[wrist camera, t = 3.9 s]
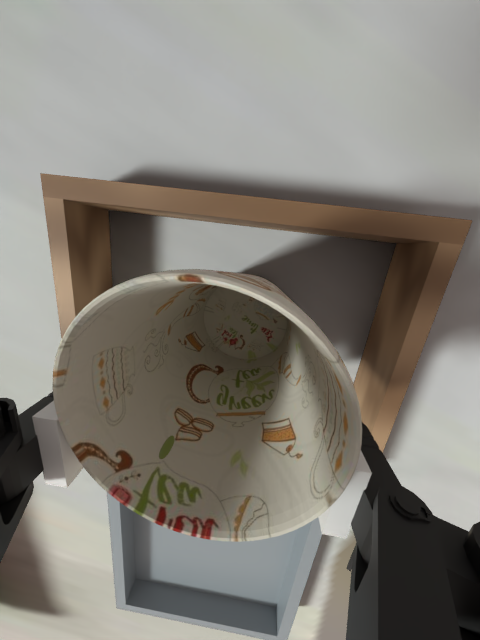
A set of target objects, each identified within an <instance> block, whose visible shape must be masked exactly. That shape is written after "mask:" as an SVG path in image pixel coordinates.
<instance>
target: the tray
mask: <svg viewBox="0 0 480 640" xmlns="http://www.w3.org/2000/svg"><path fill="white" fill-rule="evenodd" d="M107 499H108V512H109V524H110V536H111V548H112V560H113V572H114V584H115V597H116V608H118V609H122V610H127V611H132V612H137V613H141V614H146V615H151V616H156V617H160V618H165V619H170V620H174V621H179V622H184V623H189V624H193V625H198V626H203V627H208V628H212V629H217V630H222V631H227V632H231V633H236V634H241V635H246V636H250V637H255V638H260V639H264V640H287V639H288V636H289V633H290V630H291V627H292V624H293V621H294V618H295V615H296V612H297V609H298V606H299V603H300V600H301V597H302V594H303V591H304V588H305V585H306V582H307V579H308V576H309V573H310V570H311V567H312V564H313V561H314V558H315V555H316V552H317V549H318V546H319V543H320V540H321V537H322V532H321V527H320V523H319V518H316V519H314V520H313V521H311V522H309V523H308V524H306V525H305V526H302V527H300V528H298V529H296V530H294V531H291V532H288V533H286V534H283V535H280V536H276V537H272V538H267V539H262V540H255V541H242V542H233V541H217V540H208V539H203V538H198V537H193V536H189V535H186V534H182V533H179V532H176V531H173V530H170V529H167V528H165V527H163V526H160V525H158V524H156V523H154V522H151V521H150V520H148V519H146V518H144V517H142V516H140V515H138V514H137V513H135V512H134V511H132V510H130V509H129V508H127V507H126V506H124V505H123V504H122V503H120V502H119V501H117V500H116V499H115V498H114V497H113V496H111V495H110V494H109V493H108V492H107Z"/></svg>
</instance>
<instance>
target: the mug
mask: <svg viewBox="0 0 480 640" xmlns="http://www.w3.org/2000/svg"><path fill="white" fill-rule="evenodd" d="M53 396H54V404H55V409H56V413H57V417H58V420H59V423H60V426H61V428H62V431H63V433H64V436H65V438H66V440H67V442H68V444H69V446H70V448H71V449H72V451H73V452H74V454H75V455H76V457H77V459H78V460H79V462H80V463H81V464H82V465H83V467H84V468H85V469H86V471H87V472H88V473H89V474H90V475H91V476H92V478H93V479H94V480H95V481H96V482H97V483H98V484H99V485H100V486H101V487H102V488H103V489H104V490H106V491H107V492H108V493H109V494H110V495H111V496H113V497H114V498H115V499H116V500H117V501H119V502H120V503H122V504H123V505H124V506H126V507H127V508H129V509H130V510H132V511H134V512H135V513H137V514H138V515H140V516H142V517H144V518H146V519H148V520H150V521H151V522H154V523H156V524H158V525H160V526H163V527H165V528H167V529H170V530H173V531H176V532H179V533H182V534H186V535H189V536H193V537H198V538H203V539H208V540H217V541H233V542H242V541H255V540H262V539H267V538H272V537H276V536H280V535H283V534H286V533H288V532H291V531H294V530H296V529H298V528H300V527H302V526H305V525H306V524H308V523H309V522H311V521H313V520H314V519H316V518H318V517H319V516H320V515H321V514H322V513H324V512H325V511H326V510H327V509H328V508H329V507H330V506H332V505H333V504H334V503H335V501H336V500H337V499H338V498H339V497H340V495H341V494H342V493H343V492H344V490H345V488H346V487H347V485H348V484H349V482H350V480H351V478H352V476H353V474H354V472H355V469H356V466H357V463H358V460H359V456H360V450H361V445H362V421H361V412H360V406H359V401H358V397H357V394H356V390H355V387H354V384H353V382H352V380H351V377H350V375H349V372H348V370H347V368H346V366H345V365H344V363H343V361H342V359H341V357H340V356H339V354H338V352H337V351H336V349H335V348H334V346H333V345H332V343H331V342H330V341H329V339H328V338H327V337H326V335H325V334H324V333H323V332H322V331H321V329H320V328H319V327H318V326H317V325H316V324H315V322H314V321H313V320H312V319H311V318H310V317H309V316H308V315H307V314H306V313H304V312H303V311H302V310H301V309H300V308H299V307H298V306H297V305H296V304H295V303H294V302H293V301H292V300H291V299H290V298H289V297H288V296H286V295H285V294H284V293H283V292H282V291H281V290H280V289H279V288H278V287H277V286H276V285H274V284H273V283H272V282H270V281H268V280H266V279H264V278H262V277H259V276H256V275H251V274H243V273H233V272H223V271H213V270H200V269H188V270H169V271H163V272H157V273H151V274H147V275H143V276H140V277H137V278H133V279H130V280H128V281H125V282H123V283H121V284H118V285H116V286H114V287H113V288H111V289H109V290H107V291H106V292H104V293H102V294H101V295H99V296H98V297H96V298H95V299H94V300H93V301H91V302H90V303H89V304H88V305H87V306H85V307H84V308H83V309H82V310H81V312H80V313H79V314H78V315H77V316H76V317H75V318H74V320H73V321H72V322H71V324H70V325H69V327H68V328H67V330H66V332H65V334H64V336H63V338H62V340H61V342H60V345H59V348H58V351H57V354H56V358H55V363H54V369H53Z"/></svg>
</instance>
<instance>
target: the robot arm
mask: <svg viewBox="0 0 480 640" xmlns="http://www.w3.org/2000/svg"><path fill="white" fill-rule="evenodd" d="M83 468H84V467H83V465H82V464H81V463H80V462H79V460H78V459H77V457H76V455H75V454H74V452H73V451H72V449H71V448H70V446H69V444H68V442H67V440H66V438H65V436H64V433H63V431H62V428H61V426H60V423H59V420H58V417H57V413H56V409H55V404H54V396H53V392H52V393H50V394H49V395H48V396H47V397H44V398H43V399H41V400H40V401H39V402H37V403H36V404H34V405H33V406H31V407H30V408H29V409H27V410H26V411H24V412H23V413H21V414H20V415H18V413H17V409H16V404H15V402H14V401H13V400H11V399H8V398H0V562H1V560H2V558H3V556H4V554H5V552H6V549H7V547H8V545H9V543H10V541H11V539H12V536H13V534H14V532H15V530H16V528H17V526H18V523H19V521H20V519H21V517H22V515H23V513H24V510H25V508H26V506H27V504H28V502H29V500H30V497H31V495H32V493H33V488H34V486H33V480H34V479H35V478H36V477H37V476H38V475H39V474H40V473H41V472H42V471H43V474H44V479H45V484H49V485H55V486H60V487H66V488H67V487H68V486H69V485H70V484H71V482H72V481H73V480H74V479H75V477H76V476H77V475H78V474H79V473H80V471H81V470H82V469H83ZM318 518H319V523H320V527H321V532H322V534H324V535H330V536H335V537H341V538H346V539H347V536H348V534H349V531H350V528H351V526H352V529H353V532H354V535H355V538H356V541H357V543H356V546H355V548H354V550H353V553H352V555H351V558H350V560H349V563H348V566H347V569H348V570H349V571H351V569H352V573H351V585H350V597H349V609H348V622H347V633H346V640H480V522H478V523H476V524H474V525H473V526H472V528H471V529H470V531H469V532H468V531H466V530H464V529H462V528H459V527H457V526H455V525H453V524H450V523H448V522H446V521H444V520H442V519H439V518H437V517H436V516H434V515H432V512H431V511H430V510H429V508H428V507H427V506H426V504H425V503H424V502H423V501H422V500H421V499H420V498H419V497H417V496H416V495H415V494H414V493H413V492H411V491H409V490H408V489H406V488H404V487H402V486H401V484H400V482H399V481H398V479H397V477H396V475H395V474H394V472H393V470H392V469H391V467H390V465H389V463H388V462H387V460H386V458H385V456H384V455H383V453H382V451H381V450H379V446H378V444H377V443H376V441H375V440H374V437H373V436H372V434H371V432H370V431H369V429H368V427H367V426H366V425H365V424H364V423H363V422H362V445H361V450H360V456H359V460H358V463H357V466H356V469H355V472H354V474H353V476H352V478H351V480H350V482H349V484H348V485H347V487H346V488H345V490H344V492H343V493H342V494H341V495H340V497H339V498H338V499H337V500H336V501H335V503H334V504H333V505H332V506H330V507H329V508H328V509H327V510H326V511H325V512H324V513H322V514H321V515H320V516H319V517H318Z"/></svg>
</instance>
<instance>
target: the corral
mask: <svg viewBox="0 0 480 640" xmlns="http://www.w3.org/2000/svg"><path fill="white" fill-rule="evenodd" d="M40 174H41V173H40ZM41 182H42V190H43V198H44V206H45V213H46V221H47V229H48V237H49V244H50V252H51V260H52V268H53V276H54V283H55V291H56V299H57V307H58V315H59V322H60V330H61V338H63V336H64V334H65V332H66V330H67V328H68V327H69V325H70V324H71V322H72V321H73V320H74V318H75V317H76V316H77V315H78V314H79V313H80V312H81V310H82V309H83V308H84V307H85V306H87V305H88V304H89V303H90V302H91V301H93V300H94V299H95V298H96V297H98V296H99V295H101V294H102V293H104V292H106V291H107V290H109V289H111V288H113V285H112V266H111V247H110V228H109V210H112V211H121V212H130V213H138V214H147V215H155V216H164V217H173V218H181V219H190V220H199V221H207V222H216V223H224V224H233V225H242V226H250V227H259V228H268V229H276V230H285V231H293V232H302V233H311V234H319V235H328V236H337V237H345V238H354V239H362V240H371V241H380V242H388V243H396V246H395V250H394V253H393V256H392V260H391V263H390V266H389V269H388V273H387V276H386V279H385V283H384V286H383V289H382V293H381V296H380V299H379V302H378V306H377V309H376V312H375V316H374V319H373V322H372V325H371V329H370V332H369V335H368V339H367V342H366V345H365V349H364V352H363V355H362V358H361V362H360V365H359V368H358V372H357V375H356V378H355V381H354V387H355V390H356V394H357V397H358V401H359V406H360V412H361V421H362V422H363V423H364V424H365V425H366V426H367V427H368V429H369V431H370V432H371V434H372V436H373V437H374V440H375V441H376V443H377V444H378V446H379V450H381V451H382V453H383V450H384V448H385V445H386V443H387V440H388V437H389V435H390V432H391V430H392V427H393V424H394V422H395V419H396V417H397V414H398V412H399V409H400V406H401V404H402V401H403V399H404V396H405V393H406V391H407V388H408V386H409V383H410V381H411V378H412V375H413V373H414V370H415V368H416V365H417V362H418V360H419V357H420V355H421V352H422V350H423V347H424V344H425V342H426V339H427V337H428V334H429V331H430V329H431V326H432V324H433V321H434V319H435V316H436V313H437V311H438V308H439V306H440V303H441V301H442V298H443V295H444V293H445V290H446V288H447V285H448V282H449V280H450V277H451V275H452V272H453V270H454V267H455V264H456V262H457V259H458V257H459V254H460V251H461V249H462V246H463V244H464V241H465V239H466V236H467V233H468V231H469V228H470V226H471V223H472V220H464V219H455V218H446V217H436V216H427V215H418V214H409V213H400V212H390V211H381V210H372V209H363V208H354V207H345V206H335V205H326V204H317V203H308V202H299V201H289V200H280V199H271V198H262V197H253V196H244V195H234V194H225V193H216V192H207V191H198V190H188V189H179V188H170V187H161V186H152V185H143V184H133V183H124V182H115V181H106V180H97V179H87V178H78V177H69V176H60V175H51V174H41Z"/></svg>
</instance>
